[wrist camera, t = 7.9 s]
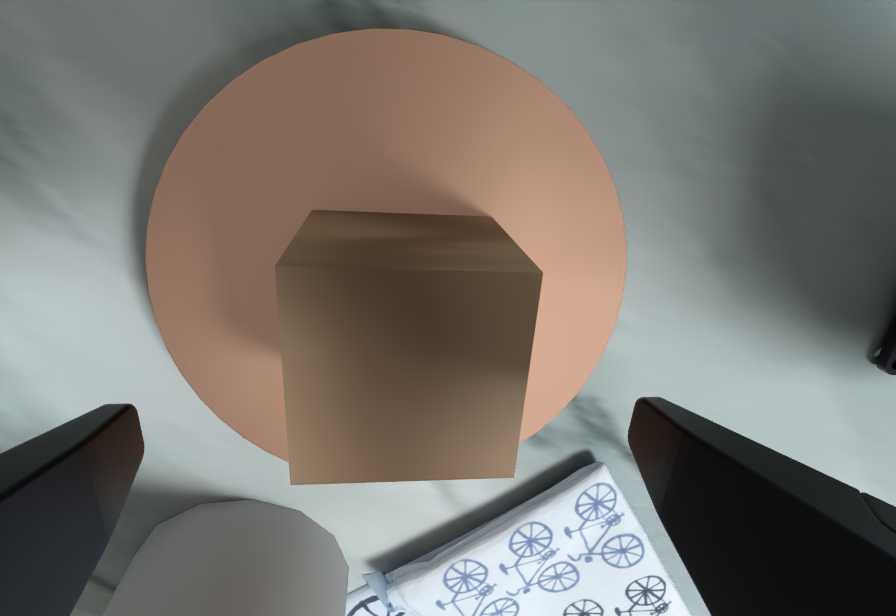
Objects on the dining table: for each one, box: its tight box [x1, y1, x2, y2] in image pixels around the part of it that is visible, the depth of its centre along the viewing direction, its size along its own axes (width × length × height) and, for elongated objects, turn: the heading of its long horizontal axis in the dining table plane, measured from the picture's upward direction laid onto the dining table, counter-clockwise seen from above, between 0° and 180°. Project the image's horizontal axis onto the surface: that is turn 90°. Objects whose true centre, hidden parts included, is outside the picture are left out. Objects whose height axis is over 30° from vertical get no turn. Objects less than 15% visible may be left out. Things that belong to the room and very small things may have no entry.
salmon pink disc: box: [145, 29, 627, 482], centre depth 15 cm, size 14×14×1 cm
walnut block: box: [275, 210, 543, 485], centre depth 12 cm, size 5×5×5 cm
